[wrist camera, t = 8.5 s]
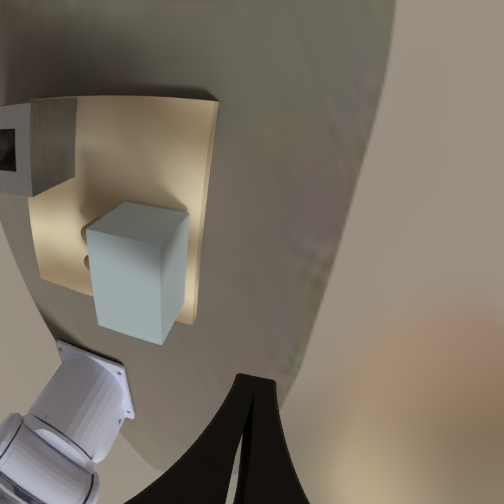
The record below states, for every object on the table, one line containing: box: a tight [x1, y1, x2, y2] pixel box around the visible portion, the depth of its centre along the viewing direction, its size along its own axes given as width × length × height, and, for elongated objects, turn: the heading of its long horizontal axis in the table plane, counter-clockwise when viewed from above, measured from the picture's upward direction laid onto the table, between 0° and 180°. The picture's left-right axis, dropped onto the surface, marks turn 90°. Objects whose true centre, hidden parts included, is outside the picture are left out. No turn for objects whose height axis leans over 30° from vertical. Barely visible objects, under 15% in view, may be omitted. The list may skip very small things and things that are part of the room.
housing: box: [86, 202, 190, 345], centre depth 16 cm, size 6×4×4 cm, turn 171°
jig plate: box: [26, 95, 219, 325], centre depth 17 cm, size 14×14×4 cm
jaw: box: [0, 97, 78, 197], centre depth 14 cm, size 5×5×4 cm
